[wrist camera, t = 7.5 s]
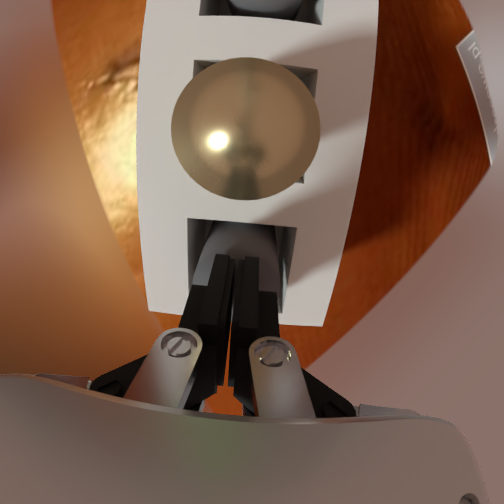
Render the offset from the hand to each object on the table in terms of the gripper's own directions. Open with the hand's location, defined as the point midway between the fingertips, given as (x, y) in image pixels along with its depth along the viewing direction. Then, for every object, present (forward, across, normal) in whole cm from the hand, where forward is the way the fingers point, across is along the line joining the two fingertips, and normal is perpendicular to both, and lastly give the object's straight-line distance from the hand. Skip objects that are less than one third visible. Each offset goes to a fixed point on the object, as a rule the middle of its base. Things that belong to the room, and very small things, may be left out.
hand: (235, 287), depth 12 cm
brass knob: (+4, 0, -6) cm, 7 cm away
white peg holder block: (+8, 0, -6) cm, 10 cm away
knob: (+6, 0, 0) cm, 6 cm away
